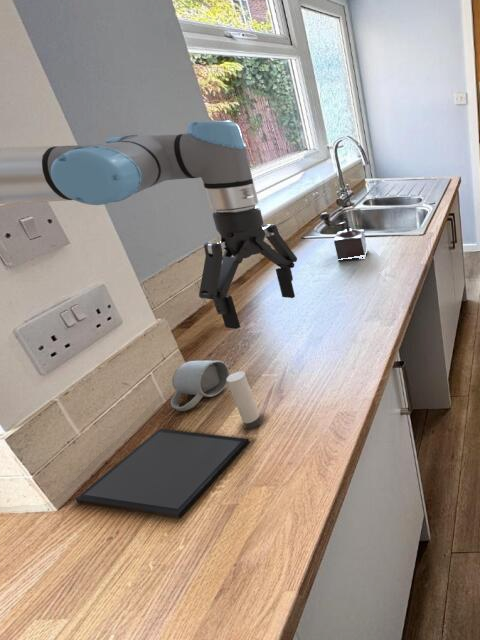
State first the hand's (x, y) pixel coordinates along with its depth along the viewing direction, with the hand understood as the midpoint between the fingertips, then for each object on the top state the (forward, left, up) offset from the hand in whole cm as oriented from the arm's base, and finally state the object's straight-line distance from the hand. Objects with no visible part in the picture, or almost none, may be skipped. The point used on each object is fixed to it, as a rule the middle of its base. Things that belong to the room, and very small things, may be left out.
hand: (263, 311), depth 82 cm
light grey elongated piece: (-2, -9, -21) cm, 23 cm away
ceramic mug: (-20, -3, -22) cm, 30 cm away
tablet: (-9, -21, -21) cm, 31 cm away
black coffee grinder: (-29, +75, -22) cm, 84 cm away
